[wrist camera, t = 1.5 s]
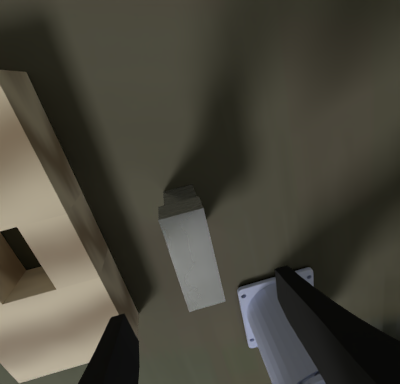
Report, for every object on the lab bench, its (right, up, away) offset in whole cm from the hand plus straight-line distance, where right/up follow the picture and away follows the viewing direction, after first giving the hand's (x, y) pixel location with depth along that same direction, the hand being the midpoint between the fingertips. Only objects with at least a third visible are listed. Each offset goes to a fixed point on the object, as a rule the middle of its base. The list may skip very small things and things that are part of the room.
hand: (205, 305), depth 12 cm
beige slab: (-13, +2, +8) cm, 16 cm away
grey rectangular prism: (-2, +4, +9) cm, 10 cm away
